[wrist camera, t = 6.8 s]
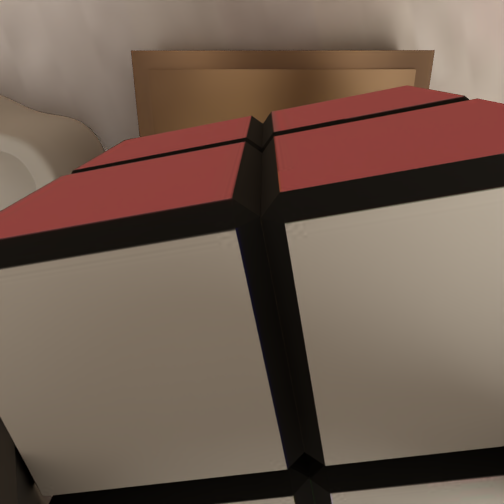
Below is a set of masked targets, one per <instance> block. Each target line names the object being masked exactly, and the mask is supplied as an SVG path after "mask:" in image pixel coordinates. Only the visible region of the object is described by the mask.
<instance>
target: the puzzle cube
mask: <svg viewBox="0 0 504 504" xmlns="http://www.w3.org/2000/svg"><path fill="white" fill-rule="evenodd" d="M0 418H1V420H2V422H3V424H4V426H5V428H6V430H7V431H8V433H9V435H10V437H11V439H12V440H13V442H14V444H15V446H16V448H17V449H18V451H19V453H20V455H21V457H22V459H23V461H24V463H25V464H26V466H27V468H28V470H29V472H30V474H31V476H32V478H33V479H34V481H35V483H36V485H37V487H38V488H39V490H40V492H41V493H42V495H43V496H51V495H53V496H52V498H51V500H50V502H49V504H504V104H502V103H497V102H492V101H487V100H482V99H472V100H469V99H468V98H467V97H465V96H463V95H457V94H452V93H446V92H441V91H436V90H430V89H425V88H420V87H414V86H409V85H406V86H401V87H396V88H391V89H385V90H380V91H375V92H370V93H365V94H360V95H355V96H349V97H344V98H339V99H334V100H329V101H324V102H319V103H314V104H308V105H303V106H298V107H293V108H288V109H283V110H278V111H273V112H271V113H270V114H269V115H268V117H267V118H266V120H265V121H264V123H261V122H260V121H259V120H257V119H256V118H254V117H253V116H247V117H242V118H237V119H231V120H226V121H221V122H216V123H211V124H206V125H201V126H196V127H190V128H185V129H180V130H175V131H170V132H165V133H160V134H154V135H149V136H144V137H139V138H134V139H129V140H124V141H123V142H121V143H119V144H117V145H116V146H114V147H112V148H110V149H109V150H107V151H105V152H104V153H102V154H100V155H98V156H97V157H95V158H93V159H91V160H90V161H88V162H86V163H85V164H83V165H81V166H79V167H78V168H76V169H74V170H73V171H72V173H71V174H69V175H63V176H60V177H59V178H57V179H55V180H54V181H52V182H50V183H48V184H47V185H45V186H43V187H41V188H40V189H38V190H36V191H34V192H33V193H31V194H29V195H27V196H26V197H24V198H22V199H20V200H19V201H17V202H15V203H13V204H12V205H10V206H8V207H6V208H5V209H3V210H1V211H0Z"/></svg>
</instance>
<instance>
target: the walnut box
mask: <svg viewBox="0 0 504 504" xmlns="http://www.w3.org/2000/svg"><path fill="white" fill-rule="evenodd" d="M434 51H435V50H332V51H131V55H132V65H133V75H134V85H135V95H136V105H137V115H138V125H139V135H140V137H144V136H149V135H154V134H160V133H165V132H170V131H175V130H180V129H185V128H190V127H196V126H201V125H206V124H211V123H216V122H221V121H226V120H231V119H237V118H242V117H247V116H253V117H254V118H256V119H257V120H259V121H260V122H261V123H264V121H265V120H266V118H267V117H268V115H269V114H270V113H271V112H273V111H278V110H283V109H288V108H293V107H298V106H303V105H308V104H314V103H319V102H324V101H329V100H334V99H339V98H344V97H349V96H355V95H360V94H365V93H370V92H375V91H380V90H385V89H391V88H396V87H401V86H406V85H409V86H414V87H420V88H425V89H429V85H430V78H431V71H432V65H433V58H434Z"/></svg>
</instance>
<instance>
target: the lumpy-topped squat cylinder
mask: <svg viewBox="0 0 504 504" xmlns="http://www.w3.org/2000/svg"><path fill="white" fill-rule="evenodd" d="M102 153H104V150H103V147H102V145H101V143H100V141H99V140H98V138H97V137H96V135H95V134H94V133H93V131H92V130H91V129H90V128H89V127H87V126H86V125H85V124H83V123H82V122H80V121H78V120H75V119H73V118H69V117H65V116H60V115H53V114H47V113H42V112H38V111H35V110H32V109H30V108H28V107H25V106H23V105H21V104H19V103H17V102H15V101H13V100H11V99H9V98H7V97H4V96H1V95H0V211H1V210H3V209H5V208H6V207H8V206H10V205H12V204H13V203H15V202H17V201H19V200H20V199H22V198H24V197H26V196H27V195H29V194H31V193H33V192H34V191H36V190H38V189H40V188H41V187H43V186H45V185H47V184H48V183H50V182H52V181H54V180H55V179H57V178H59V177H60V176H63V175H69V174H71V173H72V171H73V170H74V169H76V168H78V167H79V166H81V165H83V164H85V163H86V162H88V161H90V160H91V159H93V158H95V157H97V156H98V155H100V154H102Z"/></svg>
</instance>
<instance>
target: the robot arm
mask: <svg viewBox="0 0 504 504" xmlns="http://www.w3.org/2000/svg"><path fill="white" fill-rule="evenodd" d="M51 498H52V495H51V496H43V495H42V493H41V492H40V490H39V488H38V487H37V485H36V483H35V481H34V479H33V478H32V476H31V474H30V472H29V470H28V468H27V466H26V464H25V463H24V461H23V459H22V457H21V455H20V453H19V451H18V449H17V448H16V446H15V444H14V442H13V440H12V439H11V437H10V435H9V433H8V431H7V430H6V428H5V426H4V424H3V422H2V420H1V418H0V504H49V502H50V500H51Z"/></svg>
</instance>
